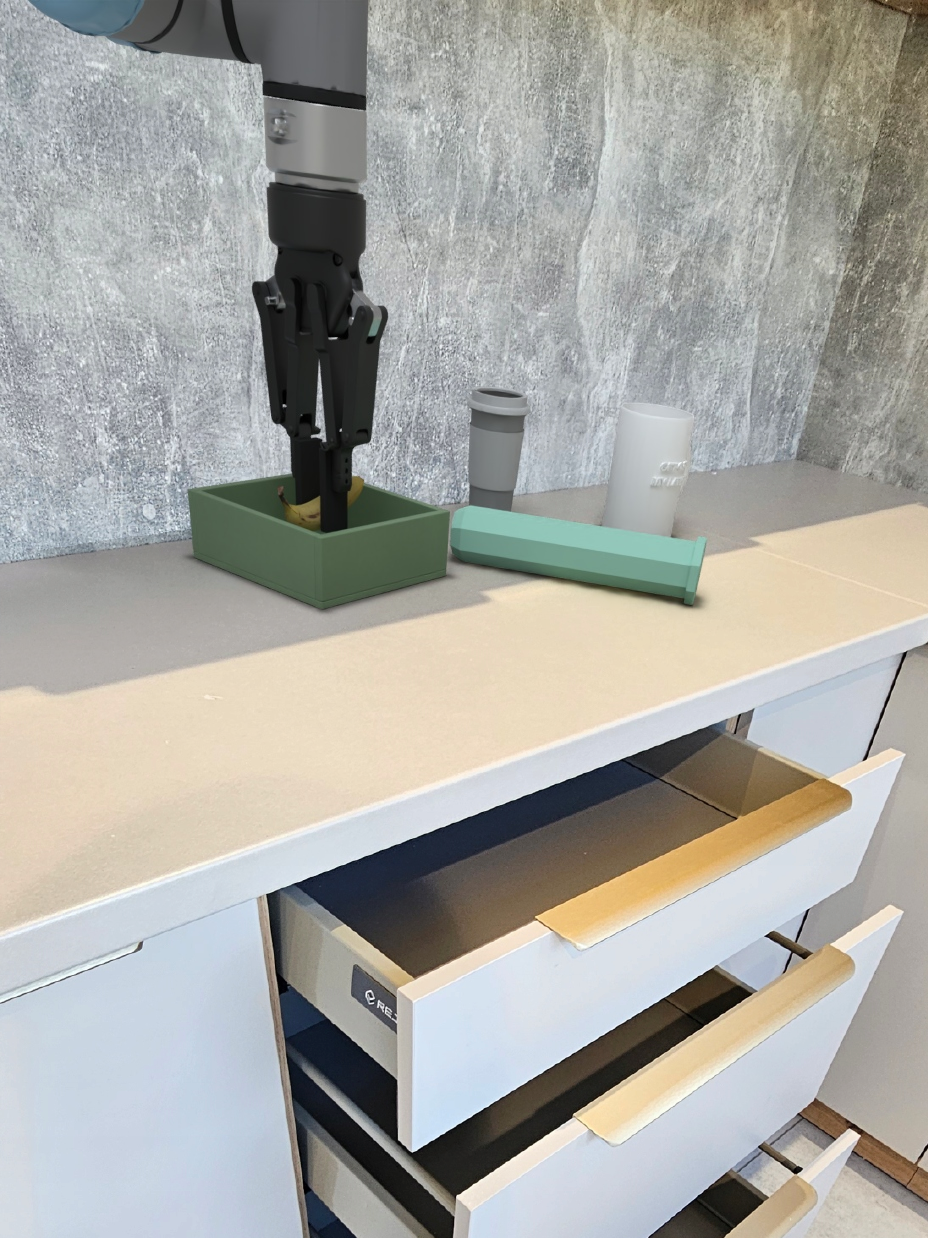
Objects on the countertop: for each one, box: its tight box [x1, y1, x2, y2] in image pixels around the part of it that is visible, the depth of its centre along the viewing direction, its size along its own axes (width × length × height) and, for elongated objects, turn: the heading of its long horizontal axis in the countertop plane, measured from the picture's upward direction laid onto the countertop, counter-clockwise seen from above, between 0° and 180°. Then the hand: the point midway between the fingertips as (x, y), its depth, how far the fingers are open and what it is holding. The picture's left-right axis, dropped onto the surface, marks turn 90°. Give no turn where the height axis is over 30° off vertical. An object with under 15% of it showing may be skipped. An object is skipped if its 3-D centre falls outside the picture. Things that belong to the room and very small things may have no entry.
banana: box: [278, 475, 365, 531], centre depth 91 cm, size 10×2×4 cm, turn 140°
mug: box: [601, 402, 695, 538], centre depth 111 cm, size 8×12×12 cm
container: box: [449, 505, 708, 606], centre depth 98 cm, size 6×6×25 cm
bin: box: [187, 472, 451, 610], centre depth 92 cm, size 17×17×6 cm
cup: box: [466, 385, 531, 512], centre depth 109 cm, size 7×7×12 cm
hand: (322, 525), depth 92 cm, fingers closed on banana, 2 cm apart
